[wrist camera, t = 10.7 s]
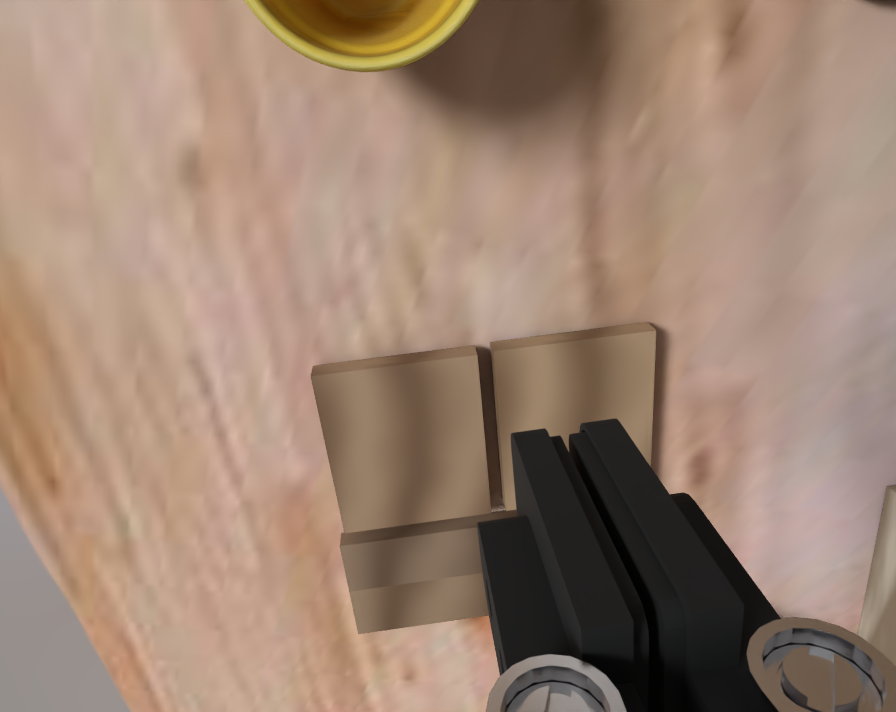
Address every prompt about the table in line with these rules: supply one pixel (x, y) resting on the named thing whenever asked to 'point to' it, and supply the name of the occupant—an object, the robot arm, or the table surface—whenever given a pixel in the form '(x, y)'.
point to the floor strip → (416, 573)
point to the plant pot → (363, 29)
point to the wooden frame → (882, 585)
